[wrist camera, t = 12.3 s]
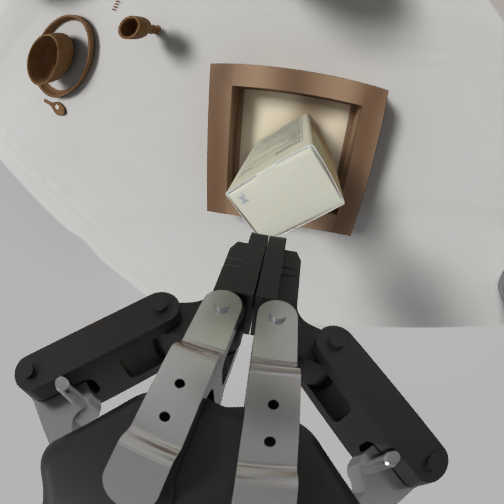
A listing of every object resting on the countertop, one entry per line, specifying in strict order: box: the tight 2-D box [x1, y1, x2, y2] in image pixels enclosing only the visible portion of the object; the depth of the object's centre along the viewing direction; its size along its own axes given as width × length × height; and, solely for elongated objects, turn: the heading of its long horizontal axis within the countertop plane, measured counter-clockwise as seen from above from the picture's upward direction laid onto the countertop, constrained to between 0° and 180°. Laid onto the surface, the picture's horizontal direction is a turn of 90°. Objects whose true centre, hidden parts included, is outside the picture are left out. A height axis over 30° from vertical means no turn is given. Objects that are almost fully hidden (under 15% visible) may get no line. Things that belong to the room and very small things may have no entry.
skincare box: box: [226, 114, 345, 241], centre depth 21 cm, size 6×4×12 cm
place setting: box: [27, 1, 161, 115], centre depth 21 cm, size 18×20×6 cm
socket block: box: [207, 64, 388, 236], centre depth 25 cm, size 15×15×4 cm
